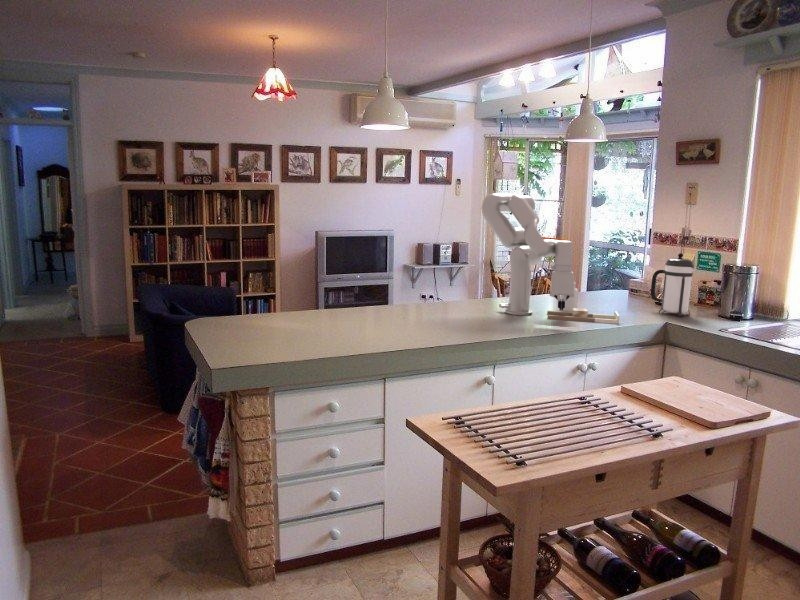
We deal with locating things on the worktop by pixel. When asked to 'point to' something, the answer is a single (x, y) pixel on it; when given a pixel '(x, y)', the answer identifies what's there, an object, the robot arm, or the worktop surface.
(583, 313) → the block
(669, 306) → the coffee press
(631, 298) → the worktop surface
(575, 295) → the pill bottle
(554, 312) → the lane
